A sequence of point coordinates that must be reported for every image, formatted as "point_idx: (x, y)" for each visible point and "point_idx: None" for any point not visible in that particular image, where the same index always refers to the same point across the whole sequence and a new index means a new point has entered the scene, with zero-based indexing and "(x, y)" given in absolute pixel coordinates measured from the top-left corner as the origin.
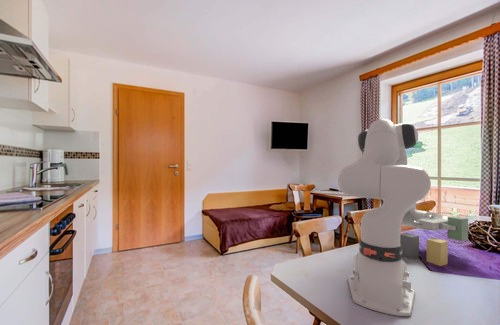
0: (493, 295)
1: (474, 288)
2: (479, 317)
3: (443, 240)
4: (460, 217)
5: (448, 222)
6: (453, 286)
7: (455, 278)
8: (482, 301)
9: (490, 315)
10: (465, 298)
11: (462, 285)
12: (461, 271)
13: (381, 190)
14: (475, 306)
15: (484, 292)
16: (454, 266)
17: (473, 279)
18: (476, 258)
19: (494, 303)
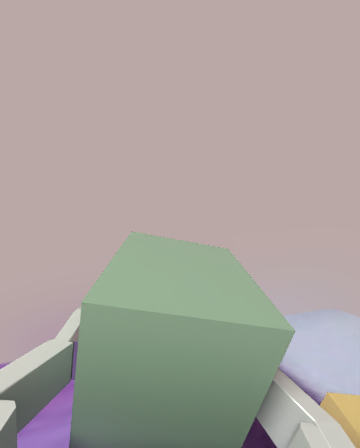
0: (289, 317)
1: (307, 338)
2: (351, 316)
3: (353, 419)
4: (135, 253)
5: (257, 384)
6: (354, 363)
7: (326, 378)
8: (322, 321)
9: (333, 311)
10: (348, 336)
11: (327, 354)
12: None
13: None
14: (343, 323)
15: (297, 325)
16: (265, 432)
17: None
18: (45, 424)
19: (306, 312)
